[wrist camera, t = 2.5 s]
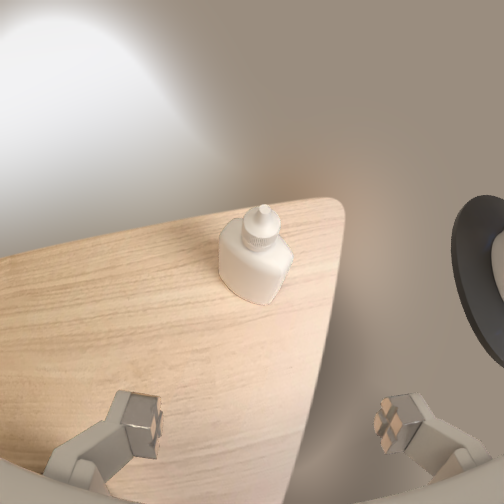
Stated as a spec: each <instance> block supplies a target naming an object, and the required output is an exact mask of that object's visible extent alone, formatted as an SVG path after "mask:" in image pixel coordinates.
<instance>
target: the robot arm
mask: <svg viewBox="0 0 504 504" xmlns="http://www.w3.org/2000/svg"><path fill="white" fill-rule="evenodd" d="M491 261H492V269H493V274H494V278H495V282H496V285H497V288H498V290H499V293H500V295H501V297H502V299H503V301H504V230H503V231H502V232H501V233H500V234H498V235H497V236H496V238H495V240H494V242H493V245H492V251H491ZM161 404H162V403H161V397H160V396H155V395H149V394H143V393H137V392H130V391H124V390H118V391H117V392H116V395H115V397H114V399H113V402H112V404H111V407H110V409H109V412H108V414H107V417H106V419H105V421H102V420H101V421H99V422H98V423H96V424H95V425H93V426H91V427H90V428H88V429H87V430H85V431H83V432H82V433H80V434H78V435H77V436H75V437H74V438H72V439H70V440H69V441H67V442H65V443H64V444H62V445H60V446H59V447H57V448H55V449H54V450H53V453H52V455H51V457H50V459H49V461H48V463H47V466H46V468H45V470H44V472H43V475H40V474H38V473H35V472H33V471H30V470H28V469H26V468H23V467H21V466H19V465H16V464H14V463H12V462H10V461H7V460H5V459H3V458H1V457H0V504H145V503H139V502H134V501H129V500H124V499H120V498H115V497H112V496H111V494H110V492H109V490H108V488H107V486H106V485H105V483H106V482H107V481H108V480H109V479H110V478H111V477H113V476H114V475H115V474H116V473H117V472H118V471H119V470H120V469H121V468H123V467H124V466H125V465H126V464H127V463H128V462H129V461H130V460H131V459H132V458H133V456H135V457H142V458H149V459H157V456H158V451H159V446H160V445H159V439H158V438H160V437H161V436H162V431H163V412H162V411H161V410H160V408H161ZM381 406H382V408H381V409H380V410H379V411H378V412H377V413H376V415H375V418H374V429H375V432H376V434H377V435H378V436H380V437H381V438H382V439H381V442H380V444H381V446H382V448H383V450H384V452H385V455H387V454H393V453H399V452H404V453H405V454H406V455H407V456H409V457H410V458H411V459H412V460H413V461H415V462H416V463H417V464H418V465H420V466H421V467H422V468H423V469H425V470H426V471H427V472H428V473H429V474H431V475H432V476H433V478H432V480H431V481H430V482H429V483H428V484H427V485H426V486H423V487H420V488H416V489H413V490H409V491H406V492H402V493H398V494H394V495H391V496H386V497H382V498H378V499H373V500H368V501H363V502H358V503H352V504H504V454H503V455H501V456H499V457H497V458H495V459H492V457H491V456H490V455H489V453H488V451H487V450H486V448H485V447H484V445H483V444H482V442H481V441H480V440H479V439H477V438H475V437H473V436H471V435H469V434H468V433H466V432H464V431H462V430H460V429H458V428H456V427H455V426H453V425H451V424H449V423H447V422H446V421H443V420H442V419H440V418H436V417H435V416H434V414H433V413H432V411H431V409H430V408H429V406H428V405H427V403H426V402H425V400H424V399H423V397H422V396H421V394H419V393H411V394H407V395H398V396H391V397H385V398H384V399H383V400H382V402H381Z"/></svg>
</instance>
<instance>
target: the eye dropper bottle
mask: <svg viewBox="0 0 504 504" xmlns="http://www.w3.org/2000/svg"><path fill="white" fill-rule="evenodd" d="M280 228H281V220H280V218H279V216H278V215H277V213H276V212H275V211H273V210H272V209H271V208H270V207H269V206H268V205H265V204H263V205H261V206H258V207H254V208H251V209H250V210H248V211H247V212H246V214H245V215H244V217H243V218H234V219H232V220H231V221H230V222H229V223H228V224H227V225H226V226H225V227H224V229H223V230H222V232H221V233H220V236H219V275H220V277H221V279H222V280H223V282H224V283H225V284H226V285H227V287H228V288H229V289H230V290H231V291H232V292H234V293H235V294H236V295H238V296H239V297H241V298H243V299H245V300H247V301H249V302H252V303H255V304H259V305H268V304H270V303H271V301H272V300H273V299H274V297H275V296H276V294H277V293H278V291H279V289H280V287H281V285H282V283H283V281H284V279H285V277H286V275H287V273H288V271H289V269H290V267H291V265H292V262H293V258H294V256H293V252H292V251H291V249H290V247H289V246H288V244H287V243H286V242H285V241H284V239H283V238H282V237H281V236H280V235H279V231H280Z"/></svg>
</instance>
